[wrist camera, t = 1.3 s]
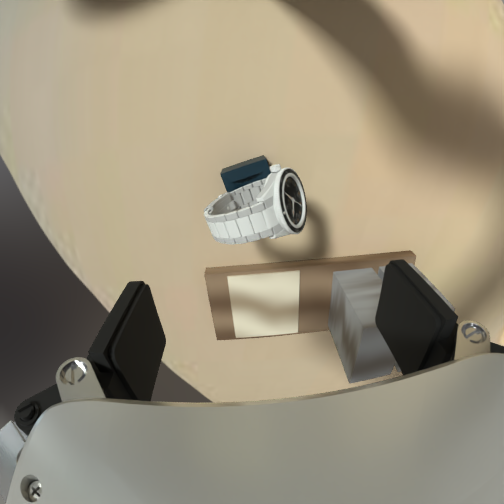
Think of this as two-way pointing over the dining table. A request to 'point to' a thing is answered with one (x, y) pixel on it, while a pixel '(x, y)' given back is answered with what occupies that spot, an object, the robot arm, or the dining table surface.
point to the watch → (257, 203)
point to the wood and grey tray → (310, 305)
